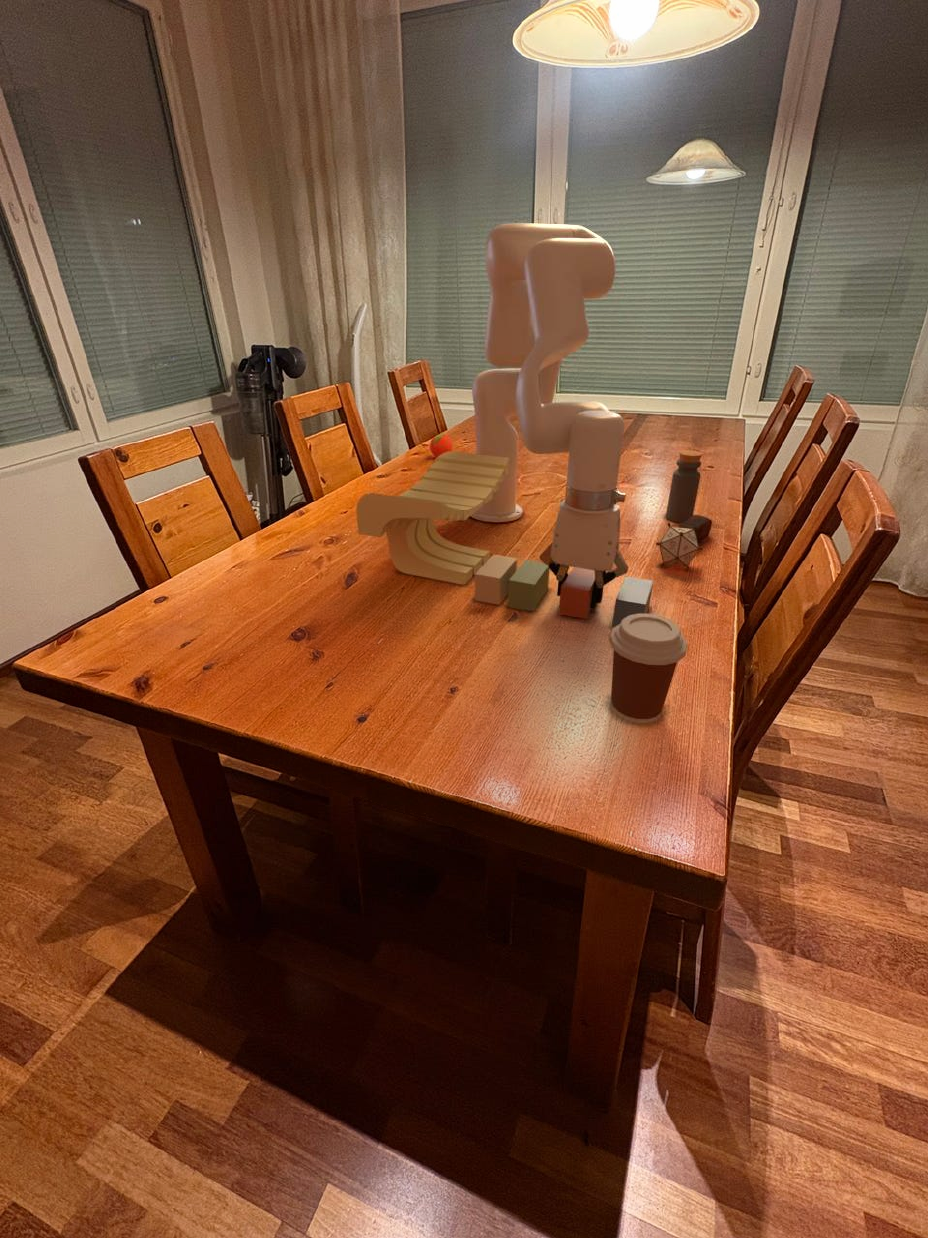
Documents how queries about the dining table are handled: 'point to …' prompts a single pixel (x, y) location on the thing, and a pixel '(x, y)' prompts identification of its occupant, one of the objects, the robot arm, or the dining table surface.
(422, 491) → the slatted curved stool
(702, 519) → the brick
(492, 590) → the block
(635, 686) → the coffee cup
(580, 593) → the loose block
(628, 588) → the block
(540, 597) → the block
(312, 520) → the dining table surface
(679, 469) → the bottle
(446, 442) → the tomato
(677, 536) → the game die
